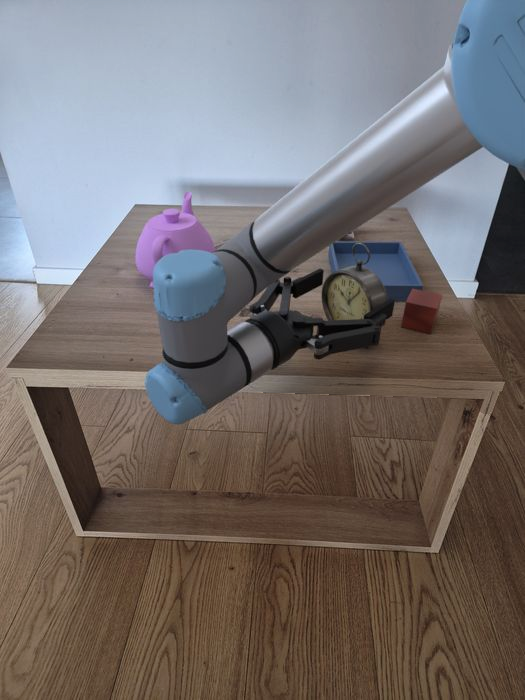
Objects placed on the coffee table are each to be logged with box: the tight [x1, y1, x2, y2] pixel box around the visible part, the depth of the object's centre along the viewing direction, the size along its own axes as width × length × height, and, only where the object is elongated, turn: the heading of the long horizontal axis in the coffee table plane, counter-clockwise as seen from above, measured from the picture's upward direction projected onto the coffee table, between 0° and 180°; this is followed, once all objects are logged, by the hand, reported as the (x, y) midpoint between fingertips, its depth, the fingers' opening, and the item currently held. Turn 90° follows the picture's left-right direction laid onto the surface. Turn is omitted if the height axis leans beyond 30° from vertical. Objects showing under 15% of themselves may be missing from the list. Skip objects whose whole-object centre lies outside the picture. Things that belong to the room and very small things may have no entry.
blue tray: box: [328, 240, 424, 302], centre depth 98 cm, size 19×15×3 cm
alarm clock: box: [321, 243, 388, 350], centre depth 78 cm, size 11×5×16 cm, turn 37°
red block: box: [400, 289, 443, 335], centre depth 84 cm, size 5×5×5 cm
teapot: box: [135, 191, 217, 289], centre depth 96 cm, size 22×16×14 cm
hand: (354, 291), depth 78 cm, fingers open, 13 cm apart
